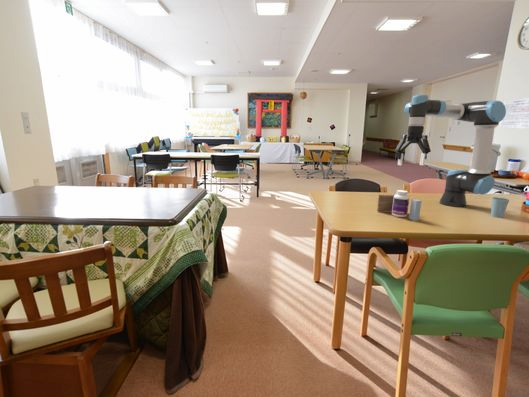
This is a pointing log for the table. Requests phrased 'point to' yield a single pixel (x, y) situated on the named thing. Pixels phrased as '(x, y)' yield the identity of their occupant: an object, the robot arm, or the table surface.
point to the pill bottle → (400, 204)
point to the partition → (414, 209)
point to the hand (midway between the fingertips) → (410, 165)
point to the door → (385, 203)
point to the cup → (498, 207)
